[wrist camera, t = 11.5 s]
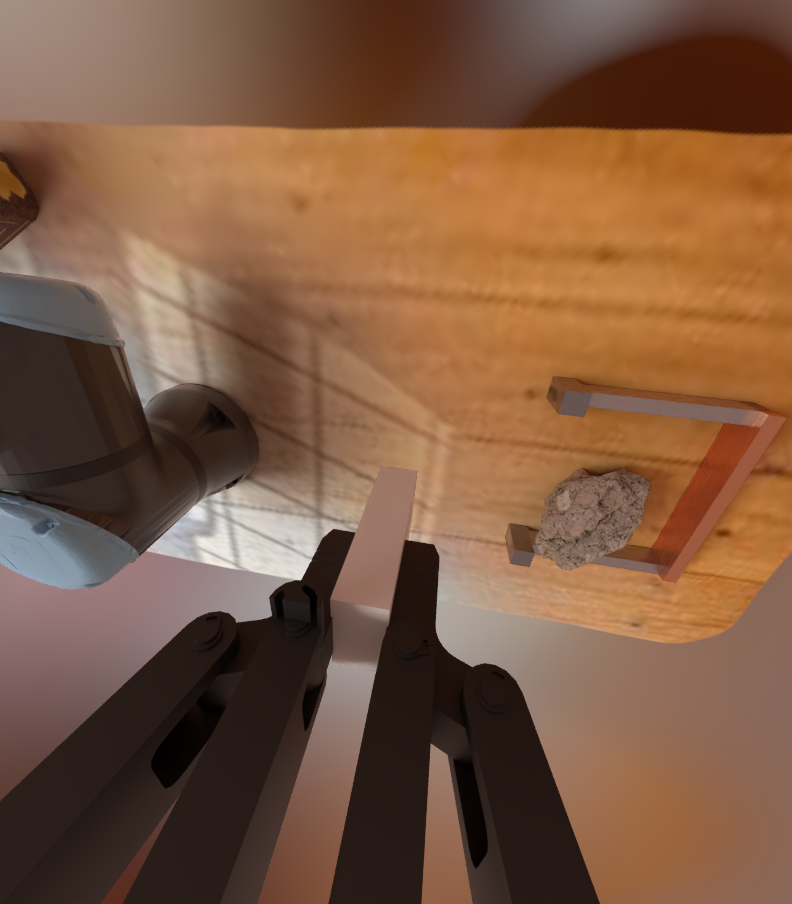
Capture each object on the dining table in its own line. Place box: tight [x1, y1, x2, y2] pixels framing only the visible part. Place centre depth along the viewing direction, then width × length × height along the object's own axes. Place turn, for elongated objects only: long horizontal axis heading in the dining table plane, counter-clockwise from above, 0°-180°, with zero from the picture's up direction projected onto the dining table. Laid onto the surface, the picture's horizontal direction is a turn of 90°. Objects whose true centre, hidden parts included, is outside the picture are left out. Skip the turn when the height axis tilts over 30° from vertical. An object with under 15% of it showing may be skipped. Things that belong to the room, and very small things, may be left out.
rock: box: [535, 468, 652, 570], centre depth 39 cm, size 14×10×8 cm
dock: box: [505, 377, 787, 583], centre depth 39 cm, size 20×23×5 cm
